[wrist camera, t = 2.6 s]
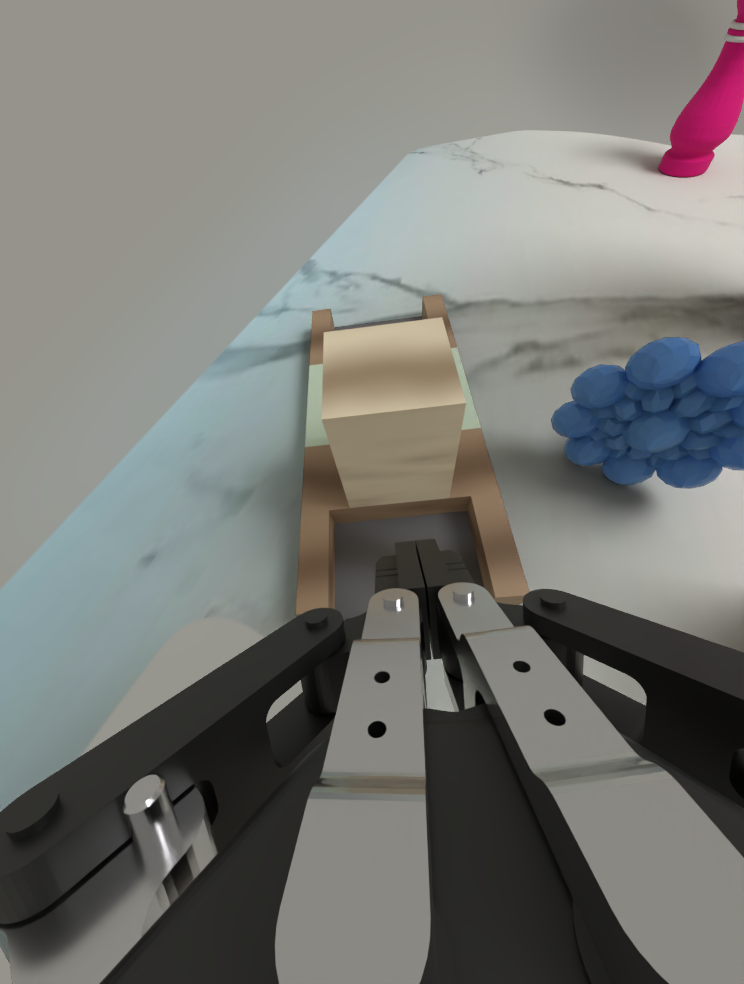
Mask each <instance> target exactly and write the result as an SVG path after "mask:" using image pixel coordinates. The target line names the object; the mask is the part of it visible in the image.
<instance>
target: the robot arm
mask: <svg viewBox="0 0 744 984" xmlns="http://www.w3.org/2000/svg"><path fill="white" fill-rule="evenodd" d="M415 547H416V548H415ZM395 552H396V555H391V556H382V557H381V558H380V559H379V560H378V561H377V562H376V572H375V595H373V596H372V597H371V599H370V601H369V604H368V609H367V611H366V612H365V613H363V614H361V615H359V616H356V617H353V618H350V619H346V620H343V616H342V614H341V613H340V612H339V611H338V610H336V609H333V608H316V609H312V610H309V611H307V612H304V613H302V614H301V615H299V616H298V617H296V618H294V619H293V620H291V621H290V622H288V623H287V624H285V625H284V626H282V627H281V628H279V629H277V630H276V631H274V632H273V633H271V634H270V635H268V636H267V637H265V638H263V639H262V640H260V641H259V642H257V643H256V644H254V645H253V646H251V647H250V648H248V649H246V650H245V651H244V652H242V653H240V654H239V655H237V656H236V657H234V658H233V659H231V660H230V661H228V662H226V663H225V664H223V665H222V666H221V667H219V668H217V669H215V670H214V671H212V672H211V673H209V674H208V675H206V676H205V677H203V678H202V679H200V680H199V681H197V682H195V683H194V684H192V685H191V686H189V687H188V688H186V689H185V690H183V691H181V692H180V693H178V694H177V695H175V696H174V697H172V698H171V699H169V700H167V701H166V702H164V703H163V704H161V705H160V706H158V707H157V708H155V709H154V710H152V711H151V712H149V713H147V714H146V715H144V716H143V717H141V718H140V719H138V720H137V721H135V722H134V723H132V724H130V725H129V726H127V727H126V728H124V729H123V730H121V731H119V732H118V733H117V734H115V735H113V736H112V737H110V738H109V739H107V740H106V741H104V742H102V743H101V744H99V745H98V746H96V747H95V748H93V749H92V750H90V751H89V752H87V753H85V754H84V755H82V756H81V757H79V758H78V759H76V760H75V761H73V762H71V763H70V764H68V765H67V766H65V767H64V768H62V769H61V770H59V771H58V772H56V773H54V774H53V775H51V776H50V777H48V778H47V779H45V780H44V781H42V782H41V783H39V784H37V785H36V786H34V787H33V788H31V789H30V790H28V791H27V792H25V793H24V794H22V795H21V796H20V797H18V798H17V799H16V800H14V801H13V802H12V803H11V804H9V805H8V806H7V807H6V808H5V809H4V810H3V811H1V812H0V947H1V949H2V950H3V952H4V954H5V956H6V958H7V960H8V962H9V963H10V968H11V978H12V984H744V653H743V652H740V651H737V650H734V649H731V648H728V647H725V646H722V645H719V644H716V643H713V642H710V641H707V640H705V639H702V638H699V637H696V636H693V635H690V634H687V633H684V632H681V631H678V630H675V629H672V628H669V627H666V626H663V625H660V624H657V623H654V622H651V621H649V620H646V619H643V618H640V617H637V616H634V615H631V614H628V613H625V612H622V611H619V610H616V609H613V608H610V607H607V606H604V605H601V604H598V603H595V602H593V601H590V600H587V599H584V598H581V597H578V596H575V595H572V594H569V593H566V592H563V591H558V590H552V589H539V590H534V591H531V592H529V593H527V594H526V595H525V596H524V597H523V606H522V605H512V604H503V603H499V602H495V600H494V599H493V597H492V596H491V595H490V593H489V592H488V591H487V590H486V589H485V588H483V587H482V586H479V585H477V584H475V583H474V581H473V579H472V577H471V575H470V573H469V572H468V570H467V568H466V566H465V564H464V563H463V560H462V558H461V557H460V555H459V554H457V553H455V552H454V551H452V550H444V551H440V550H439V547H438V545H437V542H436V540H435V538H434V539H423V540H415V544H414V540H413V541H403V542H395ZM430 644H431V649H432V654H433V659H441V658H442V660H443V666H444V679H445V683H446V686H447V689H448V692H449V695H450V698H451V701H452V704H453V707H454V710H455V712H447V711H440V710H434V709H428V706H427V691H426V678H425V674H426V671H427V663H426V660H430V659H431V651H430ZM584 655H586V656H588V657H590V658H593V659H595V660H597V661H599V662H601V663H603V664H606V665H608V666H610V667H612V668H614V669H617V670H619V671H621V672H623V673H625V674H627V675H629V676H631V677H632V678H634V679H635V680H636V681H637V682H638V683H639V684H640V685H641V686H642V687H643V689H644V691H645V693H646V696H647V703H646V706H645V705H643V704H641V703H639V702H637V701H635V700H633V699H631V698H629V697H627V696H625V695H623V694H621V693H619V692H617V691H615V690H613V689H611V688H609V687H607V686H605V685H603V684H601V683H599V682H597V681H595V680H593V679H591V678H589V677H587V676H585V675H583V657H584ZM299 680H301V683H302V689H303V692H302V693H301V694H300V695H299V696H298V697H297V698H295V699H294V700H293V701H292V702H291V703H289V704H288V705H287V706H286V707H285V708H284V709H282V710H281V711H280V712H279V713H278V714H277V715H275V716H274V717H273V718H272V719H271V720H270V721H268V722H267V723H266V717H267V714H268V711H269V709H270V707H271V705H272V704H273V703H274V702H275V700H277V699H278V698H279V697H280V696H281V695H282V694H284V693H285V692H286V691H287V690H289V689H290V688H291V687H292V686H293V685H294V684H296V683H297V682H298V681H299Z"/></svg>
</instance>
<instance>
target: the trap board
mask: <svg viewBox="0 0 744 984" xmlns="http://www.w3.org/2000/svg"><path fill="white" fill-rule="evenodd" d="M440 317H442V318H443V322H444V326H445V329H446V333H447V336H448V340H449V343H450V347H451V348H456V347H457V346H456V342H455V339H454V335H453V332H452V329H451V325H450V322H449V319H448V315H447V312H446V308H445V305H444V302H443V298H442V295H441V294H440V295H432V296H425V297H423V301H422V316H420V317H412V318H404V319H397V320H389V321H381V322H373V323H365V324H357V325H350V326H342V327H334V323H333V318H332V313H331V309H325V310H318V311H312V329H311V347H310V365H317V364H323V343H324V332H330V331H338V330H346V329H354V328H362V327H370V326H377V325H385V324H393V323H401V322H409V321H417V320H425V319H432V318H440ZM434 538H435V540H436V542H437V545H438V547H439V550H440V551H444V550H452V551H454V552H455V553H457V554H459V555H460V557H461V558H462V560H463V563H464V564H465V566H466V568H467V570H468V572H469V573H470V575H471V577H472V579H473V581H474V583H475V584H477V585H479V586H482V587H483V588H485V589H486V590H487V591H488V592H489V593H490V595H491V596H492V597H493V599H494V600H495V602H499V603H503V604H512V605H520V604H521V603H522V602H523V597H524V596H525V595H526V594H527V593H529V589H528V586H527V582H526V579H525V575H524V572H523V569H522V565H521V562H520V559H519V555H518V552H517V548H516V545H515V542H514V538H513V535H512V532H511V528H510V525H509V521H508V518H507V515H506V511H505V508H504V504H503V501H502V498H501V494H500V491H499V488H498V484H497V481H496V477H495V474H494V471H493V467H492V464H491V461H490V457H489V454H488V450H487V447H486V444H485V440H484V437H483V433H482V430H481V428H475V429H466V430H461V435H460V441H459V446H458V452H457V458H456V463H455V469H454V474H453V480H452V486H451V491H450V497H449V498H445V499H435V500H425V501H415V502H405V503H395V504H385V505H375V506H365V507H355V508H350V507H349V504H348V501H347V498H346V494H345V491H344V488H343V485H342V482H341V479H340V476H339V473H338V469H337V466H336V463H335V460H334V457H333V454H332V451H331V447H330V444H329V445H320V446H311V447H305V454H304V472H303V490H302V508H301V526H300V543H299V561H298V579H297V597H296V615H297V616H299V615H301V614H302V613H304V612H307V611H309V610H312V609H316V608H333V609H336V610H338V611H339V612H340V613H341V614H342V616H343V620H344V619H350V618H353V617H356V616H359V615H361V614H363V613H365V612H366V611H367V609H368V604H369V601H370V599H371V597H372V596H373V595H375V572H376V562H377V561H378V560H379V559H380V558H381V557H382V556H391V555H396V552H395V542H403V541H413V540H414V544H415V540H423V539H434ZM415 548H416V547H415Z"/></svg>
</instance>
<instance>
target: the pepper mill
mask: <svg viewBox="0 0 744 984" xmlns="http://www.w3.org/2000/svg"><path fill="white" fill-rule="evenodd" d="M737 8H738V15H737V19H734V20H733V21H732V22H731V23H730V28H729V29H728V33H726V34H725V36H724V39H725V40H726V42H725V44H724V46H723V49H722V51H721V54H720V56H719V58H718V60H717V62H716V64H715V65H714V67H713V69H712V71H711V73H710V74H709V76H708V77H707V79H706V80H705V82H704V83H703V85H702V86H701V87H700V89H699V90H698V91H697V93H696V94H695V95H694V97H693V98H692V99H691V100H690V102H689V103H688V104H687V105H686V107H685V108H684V109H683V111H682V112H681V114H680V115H679V117H678V118H677V120H676V122H675V124H674V126H673V128H672V130H671V134H670V141H671V145H672V148H671V149H669V150H668V151H666V152H665V154H664V156H663V158H662V161H661V163H660V165H659V170H660V171H661V172H662V173H664V174H666V175H670V176H675V177H692V176H697V175H700V174H703V173H704V172H705V171H706V170H707V169H708V167H709V165H710V163H711V161H712V160H713V158H714V152H713V150H714V149H715V148H716V147H717V146H719V145H720V144H721V143H723V142H724V141H725V140H726V139H727V138H728V137H729V136H730V134H731V133H732V131H733V129H734V127H735V125H736V123H737V121H738V118H739V115H740V112H741V109H742V104H743V99H744V0H737Z"/></svg>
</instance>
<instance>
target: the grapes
mask: <svg viewBox="0 0 744 984" xmlns="http://www.w3.org/2000/svg"><path fill="white" fill-rule="evenodd" d="M625 370H626V371H625ZM625 370H624V369H623V368H621V367H620V366H615V365H602V364H601V365H598V366H595V367H592V368H589V369H587V370H586V371H585V372H583V373H582V374H581V375H580V376H578V377H577V378H576V379H575V381H574V383H573V385H572V387H571V393H572V398H573V399H574V400H575V401H572V402H568V403H565V404H564V405H562V406H561V407H560V408H558V409H557V410H556V411H555V412H554V414H553V416H552V419H551V422H552V427H553V429H554V430H555V431H556V432H557V433H558V434H559V435H561V436H564V437H566V438H569V439H568V440H567V442H566V444H565V446H564V452H565V456H566V457H567V458H568V459H569V460H570V461H571V462H573V463H575V464H577V465H583V466H591V465H595V464H599V463H601V462H603V463H602V465H601V466H602V471H603V474H604V475H605V476H606V477H607V478H608V479H609V480H611V481H613V482H615V483H617V484H622V485H632V484H636V483H641V482H643V481H645V480H647V479H648V478H650V477H652V475H653V473H654V472H655V470H656V472H657V476H658V477H659V478H660V479H661V480H662V481H664V482H665V483H666V484H668V485H670V486H673V487H675V488H688V489H691V488H696V487H701V486H704V485H706V484H708V483H710V482H712V481H714V480H716V479H717V477H718V476H719V474H720V473H721V472H722V467H725V468H729V469H732V470H744V341H741V342H738V343H734V344H731V345H728V346H725V347H723V348H721V349H718V350H716V351H715V352H713V353H712V354H711V355H709V356H708V357H706V358H705V359H703V360H702V361H701V354H700V350H699V345H698V344H696V343H695V342H693V341H691V340H689V339H688V338H679V337H668V338H662V339H659V340H656V341H653V342H650V343H648V344H647V345H645V346H644V347H642V348H641V349H640V350H638V351H637V352H636V353H634V354H633V355H632V356H631V357H630V359H629V361H628V363H627V365H626V367H625Z"/></svg>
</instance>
